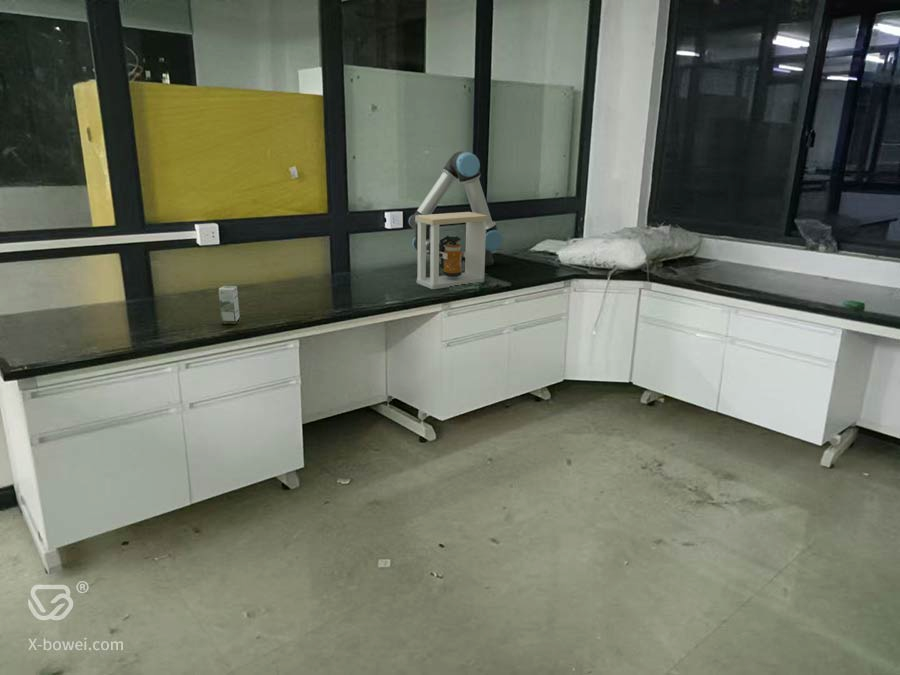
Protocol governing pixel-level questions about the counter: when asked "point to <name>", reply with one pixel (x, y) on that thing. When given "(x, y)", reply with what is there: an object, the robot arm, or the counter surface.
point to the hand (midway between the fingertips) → (455, 255)
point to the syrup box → (229, 303)
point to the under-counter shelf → (472, 255)
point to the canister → (451, 256)
